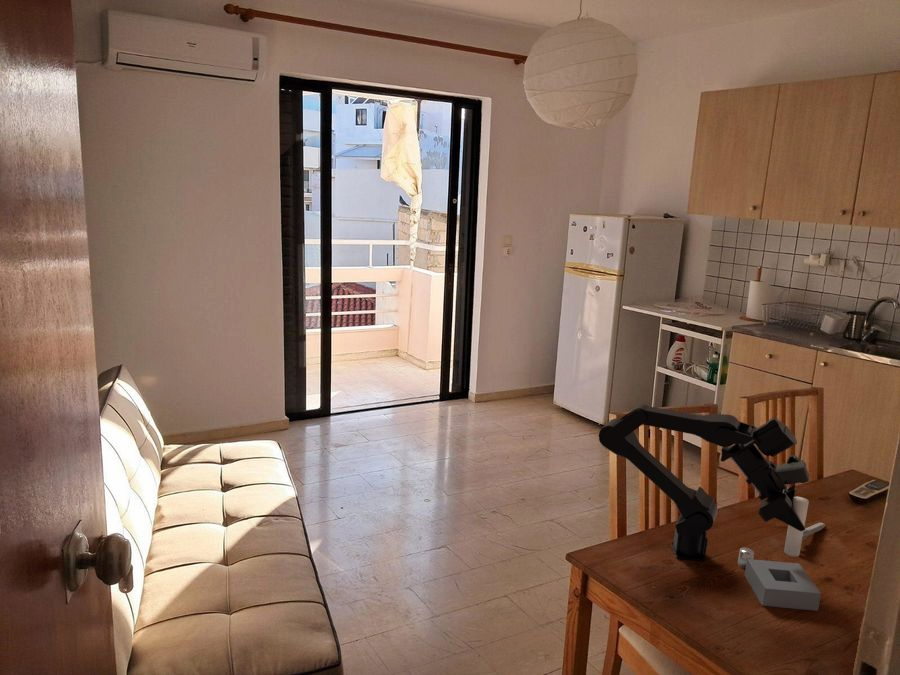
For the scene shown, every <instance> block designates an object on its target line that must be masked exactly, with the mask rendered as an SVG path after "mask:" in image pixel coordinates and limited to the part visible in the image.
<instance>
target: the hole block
mask: <svg viewBox="0 0 900 675" xmlns="http://www.w3.org/2000/svg"><path fill="white" fill-rule="evenodd" d="M744 577H745V579H746V580H747V583H748V584H749V585H750V587H751V588H752V591H753V592H754V594H755V595H756V597H757V599H758V602H759V603H760V604H761V606H763V607H771V608H772V607H774V608H784V609H785V608H786V609H793V610H805V611H816V612H818V611H819V606H820V602H821V597H822V593H821V591H820V590H819V589H818V587H817V586H816V583H814V581H813V580H812V579H811V578H810V576H809V575H808V573H807V572H806V570H805V569H804V568H803V567H802V565H801V564H800V563H798V562H795V563H794V562H785V561H784V562H783V561H774V560H773V561H772V560H760V559H753V560H752V559H747V563H746V568H745V570H744Z"/></svg>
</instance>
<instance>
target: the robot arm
mask: <svg viewBox="0 0 900 675" xmlns="http://www.w3.org/2000/svg"><path fill="white" fill-rule="evenodd" d="M641 426H650V427H653V428H657V429H659V428H660V429H663V430H668V431H675V432H679V433H684V434H690V435H693V436H696V437H699V438H700V439H702V440H704V441H706V442H708V443H710V444H712V445H716V446H718V447H722V448H721V456H720V457H721V458H720V462H723V463H724V462H725V461H727V460H728V459H731V460H732V461H733V462H734V463H735V465H736V466H737V467H738V469H739V470H740V471H741V472H742V474H743V475H744V476H745V478H746V479H745V482H746V483H747V484H748V485H752V486H753V487H754V489H755V490H756V491H757V493H758V498H759V499H760V501H761V502H760V505H759V510H758V515H759V517H760V518H761V519H762V520H763V521H764V522H768V521H771V520H773V519H777V520H779V521H780V522H783V523H784V524H786V525H790V526H792V527H794V528H795V529H797V530H799V531H804V530H805V528H806V527H805V526H804V525H803V523H802V521H801V520H800V518H799V516H798V515H797V513H796V511H795V510H794V508H793V504H794V498H793V497H795V494H796V488H797V486H796V485H793V484H806V483H808V482H809V481H810V473H809V471H808V468H807V464H806V462H805V461H804V459H800V458H799V457H798V456H797V455H795V454H794V455H788V456H787V460H786V463H785V462H783V463H782V464H780V465H779V464H778V465H777V464H776V463H775V462H774V461H773V460H769V461H768V459H767V458H766V457H772V458H773V457H776V456H777V455H779V454H781V453H783V452H785V451H786V450H788V449H790V448H792V447H793V446H796V445H797V444H798V440H797V438H796V436H795V435H794V433H793V432H792V431H791V429H790V428H789V426H788V425H785V423H783V422H782V421H780V420H778V418H777V417H776V416H774V417H772V418H770V419H769V420H768V421H767V422H765V423H764V424H762V425H760V426H759V427H757V426H755V425H751V424H749V423H746V422H742V421H739V419H738V418H737V417H736V416H734V415H733V414H732V415H731V414H728V413H727V414H726V413H725V414H720V413H719V414H717V413H712V414H704V415H703V414H701V415H700V414H694V413H688V412H682V411H676V410H673V409H672V410H670V409H666V408H660V407H656V406H655V407H654V406H649V405H647V404H638V405H637V406H636V407H635V408H634V409H632V410H631V411H629V412H627V413H626V414H624V415H623V416H622V417H620V418H613V419H610V420H609V421H608V422H607V423H606V424H604V425H603V427H601V428H600V430H599V432H598V441H599V443H600V445H601V446H603V447H604V448H605V449H607V450H608V451H610V452H612V453H613V454H614V455H617V456H618V457H619V456H620V457H621V458H625V459H626V460H628V461H629V463H631V464H632V465H633V466H635V467H636V468H637V469H638V471H640V472H641V473H642V474H643V475H644V476H645V477H647V479H649V480H650V481H651V482H652V483H653V485H655V486H656V487H657V488H659V489H660V490H661V491H662V492H663V493H664V494H665V495H666V496H667V497H668V498H670V500H671V501H672V502H673V503H674V504H675V506H676V508H677V509H678V512H679V513H680V515H679V517H678V519H677V522H676V524H675V529H674V537H673V542H670V545H671V548H672V550H673V552H674V555H675V557H676V559H680V560H689V561H691V560H693V561H703V562H705V561H706V556H705V555H706V554H707V549H708V544H709V543H708V541H709V538H708V537H707V531H709V530H710V529H711V528H713V525H714V523H715V520H716V518H717V515H718V506H717V504H716V502H715V501H714V499H715V498H714V496H711V495H709V494H708V493H707V492H706V491H705V490H704V489H703V487H701V486H699V487H697V489H694V488H691V487H689V486H688V485H686V484H685V483H684V482H682V480H680V479H679V478H678V477H677V476H676V475H675V474H674V473H673V472H671V471H670V470H669V469H668V468H667V467H666V466H665V465H664V464H663V463H661V462H660V460H659V459H657V458H656V457H655V456H654V455H653V454H652V453H651V452H650V451H649V450H648V449H646V448H645V447H644V446H643V445H642V444H641V443H640V441H639V439H638V437H637V435H636V433H635V430H637V429H638V428H639V427H641ZM765 456H766V457H765ZM788 485H792V486H790V487H788ZM806 523H807V521H806V520H805V524H806Z"/></svg>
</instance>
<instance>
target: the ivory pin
mask: <svg viewBox="0 0 900 675" xmlns="http://www.w3.org/2000/svg"><path fill="white" fill-rule="evenodd" d="M793 498H794V504H793V508H794V510H795V511H796V513H797V515H798V516H799V518H800V520H801V521H802V523H803V525H804V527H805V524H806V523H805V521H806V519H807V516H808V515H807V513H808V507H809V502H810V501H809V500H808V499H807V498H805V497H802V496H794V497H793ZM787 525H788V524H787ZM786 531H787V532H786V537H785V542H784V548H783V551H784V554H786V555H787V556H790V557H794V558H795V557H796V558H797V557H799V556H800V553H801V547H802V541H803V540H802V537H803V532H804V531H799V530H797V529H795V528H794V527H792V526H790V525H788V526H787V530H786Z"/></svg>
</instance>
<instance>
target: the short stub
mask: <svg viewBox="0 0 900 675" xmlns="http://www.w3.org/2000/svg"><path fill="white" fill-rule="evenodd" d="M754 556H755V551H754V550H753V549H751V548H749V547H740V548H739V553H738V560H737V565H738V566H739V567H741V568H743V569H746V563H747V559H752V560H754Z"/></svg>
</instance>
